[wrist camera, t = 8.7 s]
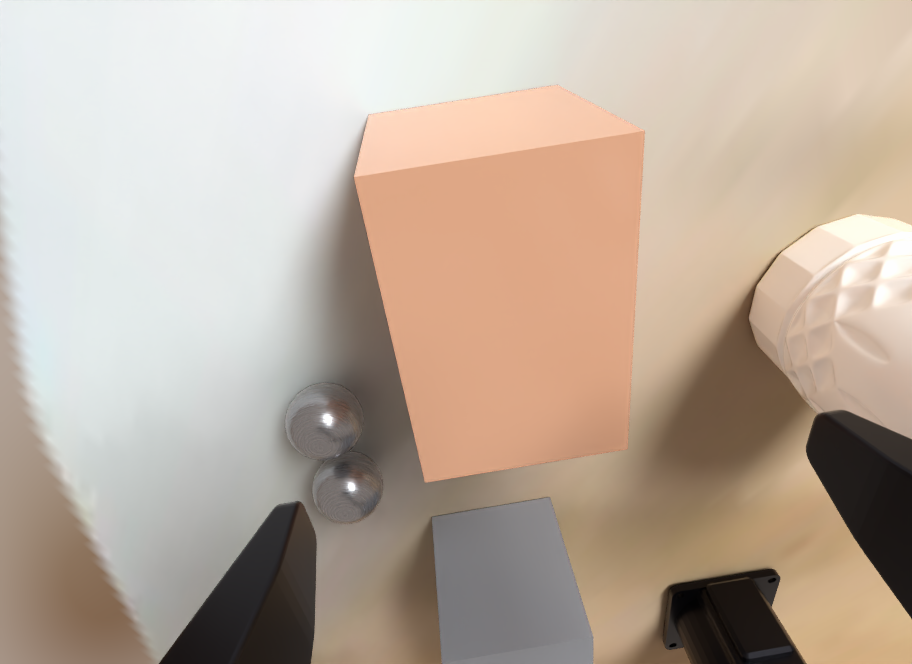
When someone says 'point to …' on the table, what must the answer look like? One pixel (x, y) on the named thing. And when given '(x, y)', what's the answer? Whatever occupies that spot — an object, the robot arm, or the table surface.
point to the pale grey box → (508, 588)
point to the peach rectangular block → (507, 273)
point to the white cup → (843, 318)
